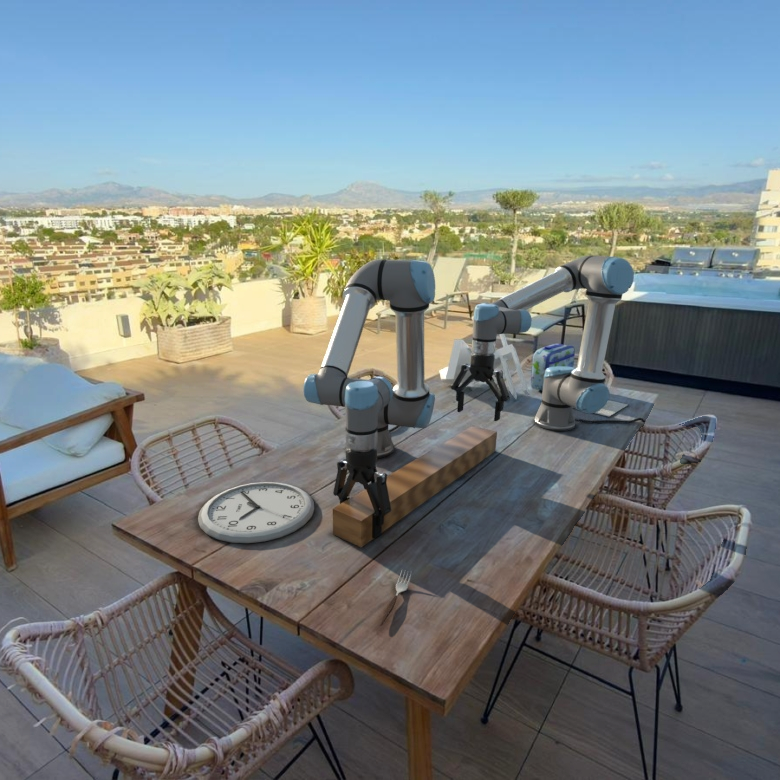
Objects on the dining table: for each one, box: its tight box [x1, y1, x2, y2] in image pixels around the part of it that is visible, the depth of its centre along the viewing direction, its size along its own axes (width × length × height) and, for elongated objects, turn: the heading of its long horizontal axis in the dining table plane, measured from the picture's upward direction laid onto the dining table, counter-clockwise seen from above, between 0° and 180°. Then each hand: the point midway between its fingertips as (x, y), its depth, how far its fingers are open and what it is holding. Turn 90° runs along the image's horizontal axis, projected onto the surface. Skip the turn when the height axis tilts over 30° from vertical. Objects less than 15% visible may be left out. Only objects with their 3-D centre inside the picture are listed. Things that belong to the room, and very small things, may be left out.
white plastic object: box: [438, 334, 531, 400], centre depth 245 cm, size 37×45×31 cm
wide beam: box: [332, 425, 498, 548], centre depth 153 cm, size 72×9×7 cm, turn 143°
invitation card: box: [595, 399, 629, 418], centre depth 226 cm, size 21×1×15 cm
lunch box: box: [530, 343, 576, 391], centre depth 249 cm, size 26×11×21 cm, turn 134°
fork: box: [379, 570, 413, 627], centre depth 106 cm, size 3×16×2 cm, turn 160°
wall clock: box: [197, 481, 315, 544], centre depth 139 cm, size 30×2×30 cm
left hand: (361, 529), depth 131 cm, fingers closed on wide beam, 9 cm apart
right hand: (478, 415), depth 174 cm, fingers open, 13 cm apart
